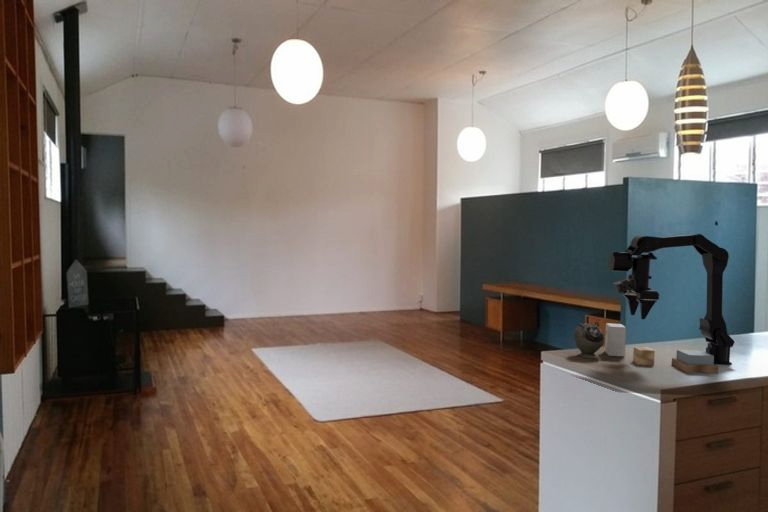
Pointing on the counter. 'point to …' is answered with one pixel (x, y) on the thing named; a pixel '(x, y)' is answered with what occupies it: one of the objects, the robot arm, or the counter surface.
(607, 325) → the small box
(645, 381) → the counter surface
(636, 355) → the oak block
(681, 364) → the tower base
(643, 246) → the robot arm
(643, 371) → the counter surface
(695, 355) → the tower top
